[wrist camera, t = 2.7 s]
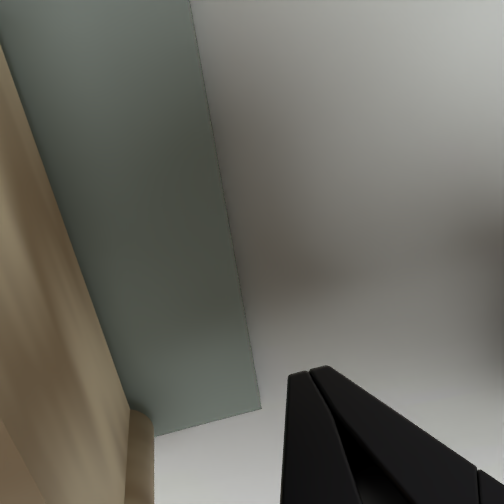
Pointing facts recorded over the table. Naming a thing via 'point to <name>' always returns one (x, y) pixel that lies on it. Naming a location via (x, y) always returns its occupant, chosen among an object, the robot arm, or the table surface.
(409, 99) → the table surface
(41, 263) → the hinged panel
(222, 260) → the board
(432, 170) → the table surface
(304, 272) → the table surface
